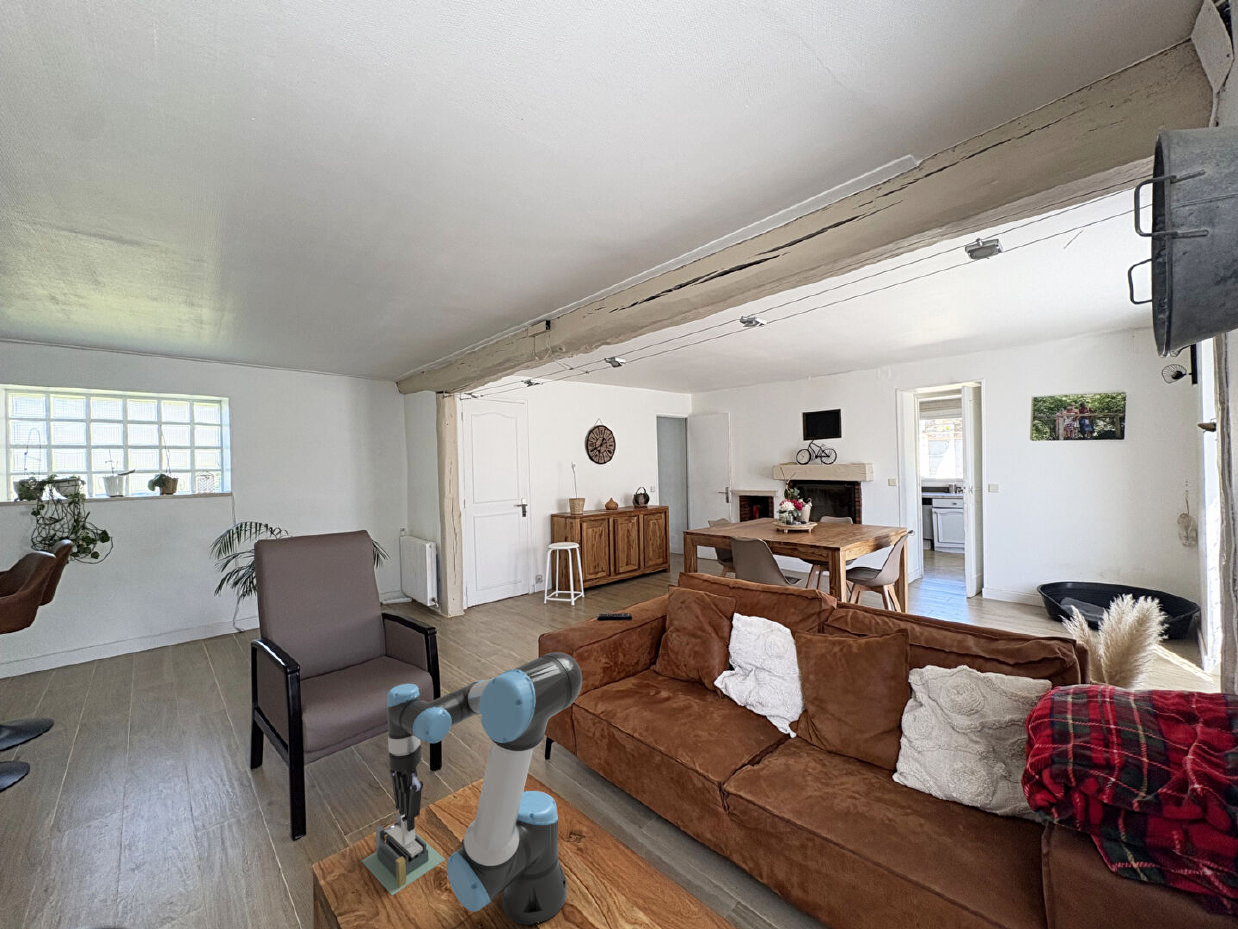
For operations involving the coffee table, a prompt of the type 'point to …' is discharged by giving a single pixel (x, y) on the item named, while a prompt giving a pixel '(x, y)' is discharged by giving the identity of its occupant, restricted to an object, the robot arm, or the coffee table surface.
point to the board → (390, 880)
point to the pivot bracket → (381, 834)
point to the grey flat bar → (395, 835)
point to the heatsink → (401, 855)
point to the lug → (400, 872)
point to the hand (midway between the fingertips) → (408, 840)
